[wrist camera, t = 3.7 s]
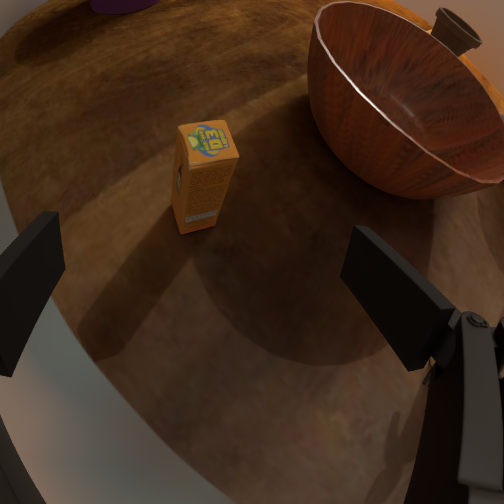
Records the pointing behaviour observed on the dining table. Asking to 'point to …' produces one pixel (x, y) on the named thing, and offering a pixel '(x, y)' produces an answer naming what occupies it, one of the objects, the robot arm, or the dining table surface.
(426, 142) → the bowl
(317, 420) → the dining table surface
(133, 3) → the jar
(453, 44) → the flower pot
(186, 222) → the supplement box
